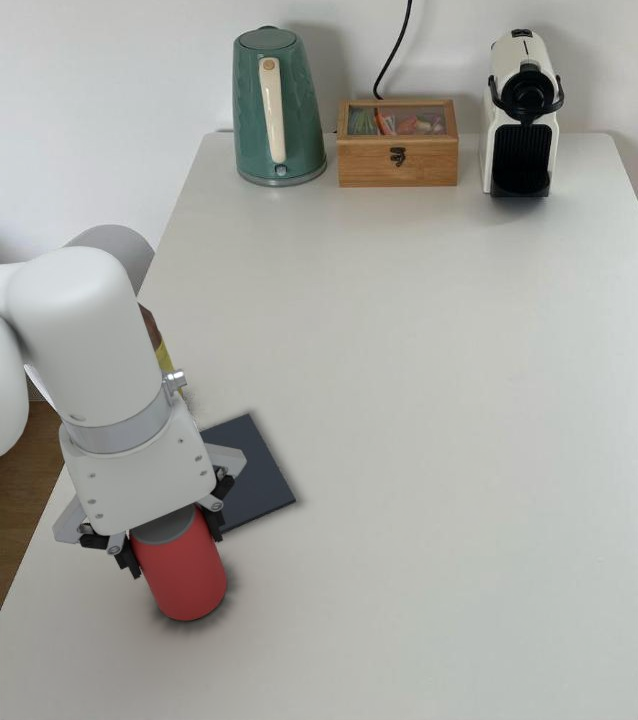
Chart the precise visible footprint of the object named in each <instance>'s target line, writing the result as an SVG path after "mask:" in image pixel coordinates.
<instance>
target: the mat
mask: <svg viewBox="0 0 638 720" xmlns="http://www.w3.org/2000/svg"><path fill="white" fill-rule="evenodd" d="M199 433H200V435H201V438H202V440H203V443H209V444H214V445H219V446H224V447H230V448H235V449H240V450H242V452H243V454H244V456H245V458H246V460H247V463H246V465H245V466H244V468H243V469H242V471H241V472H240V474H239V475H238V477H237V476H236V478H235V479H234V480H235V484H234V485H233V487H232V488H231V489H230V491H229V492H228V494H227V495H226V496H225V498H224V499H223V500H222V502H223V504H224V505H223V507H222V509H221V511H222V514H223V517H224V520H225V523H226V524H225V525H223V526H221V527H219V529H220V532H221V534H223V533H225V532H227V531H230V530H232V529H235V528H237V527H239V526H241V525H244V524H247V523H248V522H251V521H253V520H256V519H258V518H260V517H262V516H265V515H266V514H269V513H272V512H274V511H277V510H279V509H281V508H283V507H285V506H288V505H290V504H293V503H295V502H296V501H297V499H296V497H295V495H294V493H293V492H292V489H291V488H290V486H289V484H288V482H287V480H286V479H285V477H284V475H283V473H282V472H281V470H280V468H279V466H278V464H277V462H276V460H275V459H274V457H273V455H272V453H271V451H270V449H269V448H268V446H267V444H266V442H265V440H264V439H263V436H262V435H261V433H260V431H259V429H258V427H257V426H256V424H255V421H254V420H253V418H252V416H251V414H250V413H249V412H248V413H245V414H243V415H241V416H238V417H235V418H233V419H230V420H228V421H225V422H222V423H219V424H217V425H214V426H212V427H208V428H205V429H204V430H201V431H199ZM212 467H213V470H214V472H215V471H216V470H217V468H219V467H221V466H215V465H212ZM194 503H195V504H197V505H198V506H199V507H200V508H201V506H200V504H199V503H197V502H194ZM201 510H202V509H201Z"/></svg>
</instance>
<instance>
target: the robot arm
mask: <svg viewBox="0 0 638 720" xmlns="http://www.w3.org/2000/svg"><path fill="white" fill-rule="evenodd" d="M127 274H128V273H127V269H126V268H125V267H124V265H123V264H122V263H121V261H120V260H119V259H117V257H116V256H114V255H113V254H111V253H110V252H107V251H105V250H103V249H102V248H97V247H92V246H83V245H76V246H74V245H73V246H72V245H71V246H65V247H59V248H56V249H52V250H49V251H47V252H44V253H42V254H39V255H37V256H36V257H34V258H32V259H30V260H28V261H20V262H12V263H0V457H1V456H4V455H5V454H6V453H8V451H10V449H12V448H13V447H14V446H15V445H16V444H17V442H18V441H19V439H20V438H21V436H22V435H23V433H24V430H25V428H26V425H27V422H28V419H29V413H30V401H29V391H28V384H27V383H28V382H27V375H26V370H25V365H29V366H31V367H32V368H34V369H35V370H36V372H37V373H38V375H39V377H40V379H41V381H42V384H43V385H44V387H45V389H46V392H47V393H48V396H49V398H50V400H51V402H52V404H53V406H54V408H55V410H56V413H57V415H58V417H59V418H60V420H61V424H60V426H59V428H58V439H59V445H60V450H61V454H62V457H63V460H64V463H65V466H66V469H67V472H68V474H69V477H70V479H71V482H72V485H73V487H74V491H75V493H76V494H75V495H74V497H73V498H72V499H71V500H70V502H69V503H68V504H67V505H66V507H65V509H63V511H62V512H61V513H60V515H59V516H58V518H57V519H56V520H55V521H54V523H53V524H52V526H51V529H52V533H53V537H54V541H55V542H58V543H64V544H71V545H76V544H78V545H80V546H81V547H82V548H85V549H92V550H101V551H105V552H106V554H107V555H108V556H113V558H114V559H115V561H116V564H117V565H118V567H119V569H120V570H121V571H122V570H124V569H126V568H127V569H129V572H130V574H131V576H132V578H133V580H138V579H140V578H141V576H142V575H143V573H142V571H141V568H140V566H139V564H138V562H137V560H136V558H135V556H134V554H133V552H132V549H131V547H130V544H129V536H128V535H127V532H128V531H129V529H132V528H134V527H137V526H139V525H142V524H144V523H147V522H149V521H151V520H154V519H156V518H159V517H161V516H163V515H166V514H168V513H170V512H173V511H175V510H177V509H180V508H182V507H184V506H187V505H189V504H191V503H193V502H197V503H199V504H200V506H201V509H202V511H203V513H204V515H205V517H206V520H207V523H208V526H209V528H210V531H211V534H212V537H213V539H214V542H215V543H217V544H219V543H221V542H223V541H224V538H223V536H222V535H223V534H222V533H221V532H220V529H219V527H221V526H223V525H225V524H226V523H225V520H224V517H223V514H222V511H221V509H222V507H223V505H224V504H223V502H222V500H223V499H224V498H225V496H226V495H227V494H228V492H229V491H230V489H231V488H232V487H233V485H234V484H235V480H234V479H235V478H236V476H237V477H238V475H239V474H240V472H241V471H242V469H243V468H244V466H245V465H246V463H247V460H246V458H245V456H244V454H243V452H242V450H240V449H235V448H230V447H224V446H219V445H214V444H209V443H203V440H202V438H201V435H200V433H199V432H200V430H199V428H198V427H197V424H196V421H195V419H194V417H193V415H192V412H191V411H190V409H189V407H188V405H187V403H186V402H185V399H184V400H183V398H184V397H183V398H182V397H181V395H180V394H179V393H178V391H177V390H178V388H180V387H181V388H182V387H186V386H188V382H187V380H186V379H187V378H186V377H185V374H184V372H183V369H182V368H181V367H180V368H178V369H174V370H175V371H172V372H171V370H170V371H167V372H165V370H164V369H160V366H159V363H158V360H157V357H156V355H155V352H154V349H153V346H152V343H151V340H150V337H149V335H148V332H147V329H146V326H145V323H144V320H143V317H142V314H141V311H140V308H139V305H138V303H139V302H138V300H137V296H136V294H135V291H134V288H133V285H132V281H131V279H130V276H129V274H128V275H127ZM128 276H129V277H128ZM129 279H130V280H129ZM212 465H215V466H221V467H219V468H217V470H216V471H215V472H214V470H213V467H212ZM86 518H87V520H88V522H84V521H85V520H86Z"/></svg>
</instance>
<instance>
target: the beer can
mask: <svg viewBox="0 0 638 720" xmlns="http://www.w3.org/2000/svg"><path fill="white" fill-rule="evenodd" d="M128 539H129V544H130V547H131V549H132V552H133V554H134V556H135V558H136V560H137V562H138V564H139V567H140V570H141V572H142V575H143V577H144V579H145V582H146V583H147V585H148V587H149V589H150V591H151V593H152V595H153V598H154V599H155V602H156V604H157V606H158V608H159V610H160V611H161V612H162V613H163V614H164V615H165V616H166V617H168V618H171V619H174V620H176V621H192V620H197V619H200V618H203V617H204V616H206V615H208V614H209V613H211V612H212V611H213V610H214V609H215V608H217V607H218V606H219V604H220V603H221V601H222V600H223V598H224V596H225V595H226V590H227V586H228V580H227V573H226V570H225V568H224V565H223V561H222V559H221V556H220V554H219V550H218V548H217V545H216V542H215V541H214V539H213V537H212V534H211V531H210V528H209V526H208V523H207V520H206V517H205V515H204V513H203V511H202V510H201V508H200V507H199V506H198V505H197V504H195V503H194V502H193V503H191V504H189V505H187V506H184V507H182V508H180V509H177V510H175V511H173V512H170V513H168V514H166V515H163V516H161V517H159V518H156V519H154V520H151V521H149V522H147V523H144V524H142V525H139V526H137V527H134V528H132V529H129V530H128Z"/></svg>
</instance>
